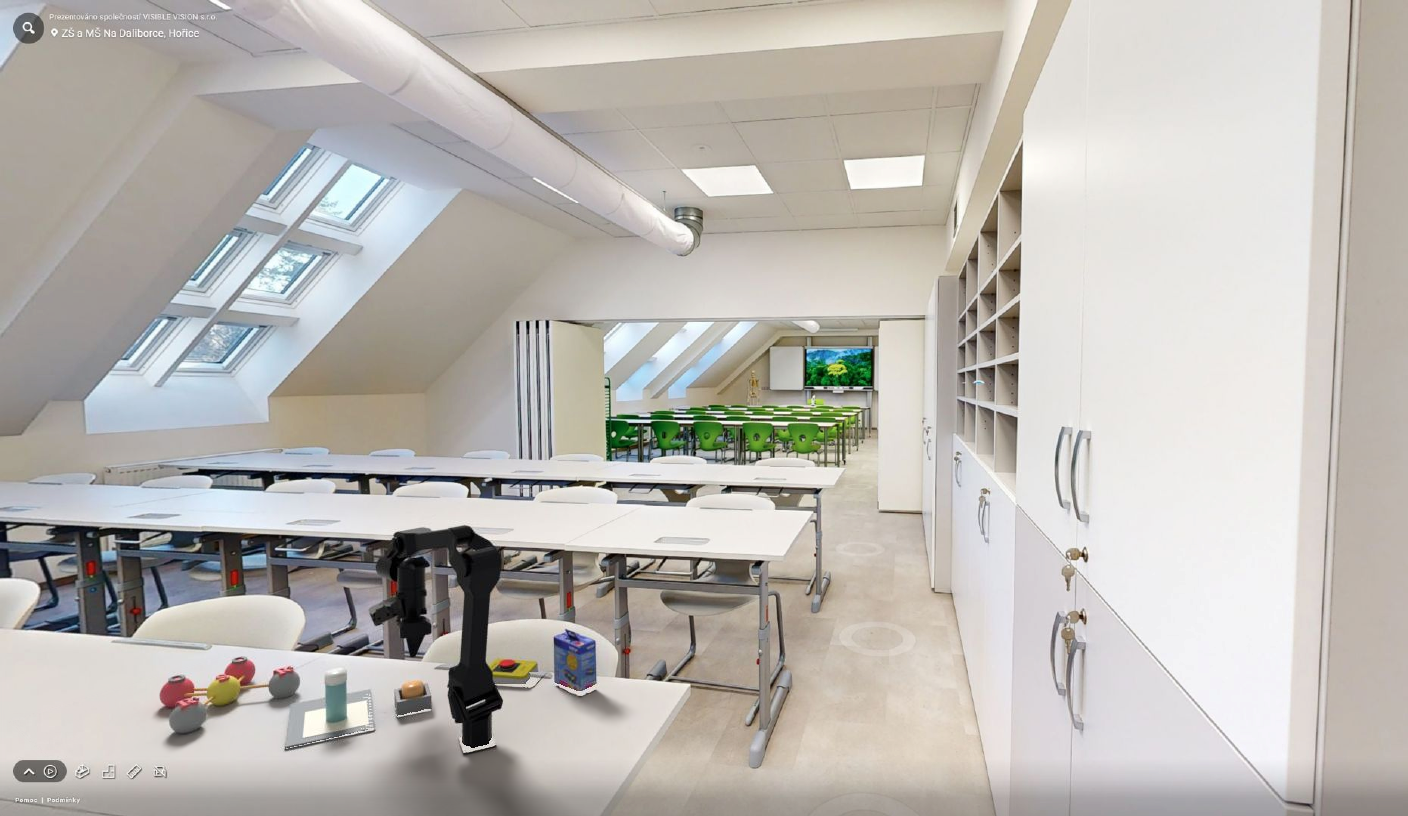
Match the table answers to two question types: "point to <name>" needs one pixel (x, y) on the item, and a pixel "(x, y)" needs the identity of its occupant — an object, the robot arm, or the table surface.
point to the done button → (412, 689)
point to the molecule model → (219, 692)
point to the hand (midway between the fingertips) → (412, 654)
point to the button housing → (412, 701)
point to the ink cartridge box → (574, 661)
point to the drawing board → (312, 725)
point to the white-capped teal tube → (336, 695)
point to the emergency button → (512, 671)
